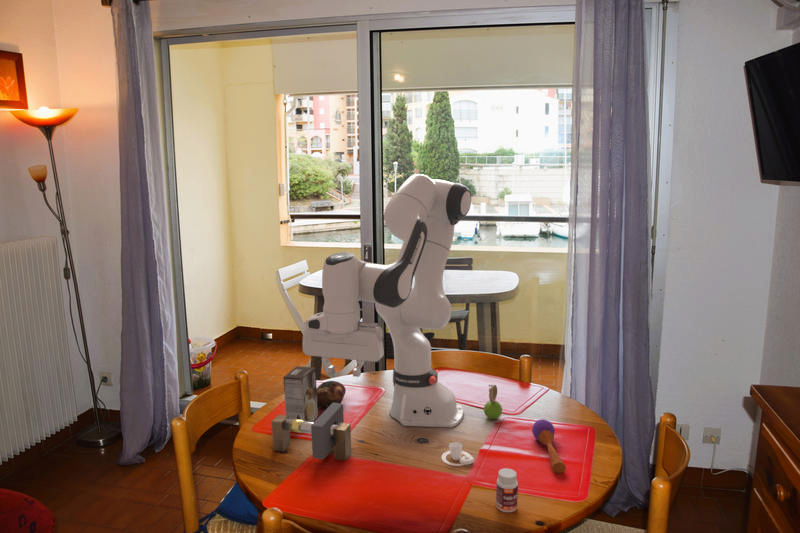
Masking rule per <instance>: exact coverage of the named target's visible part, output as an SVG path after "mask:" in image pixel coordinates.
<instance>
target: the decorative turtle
mask: <svg viewBox="0 0 800 533" xmlns="http://www.w3.org/2000/svg"><path fill="white" fill-rule="evenodd" d="M316 388H317V408H318V409H321V408H323V406H326V407H327V408H328V407H329V406H330V405H331V404H332V403H342V402H343V400H344V397H345V394H346V390H347V389H346V387H345V386H344V384H343V383H341V382H339V381H335V380H328V381H325V382H322V383H320V384H319V385H318V386H316Z"/></svg>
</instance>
